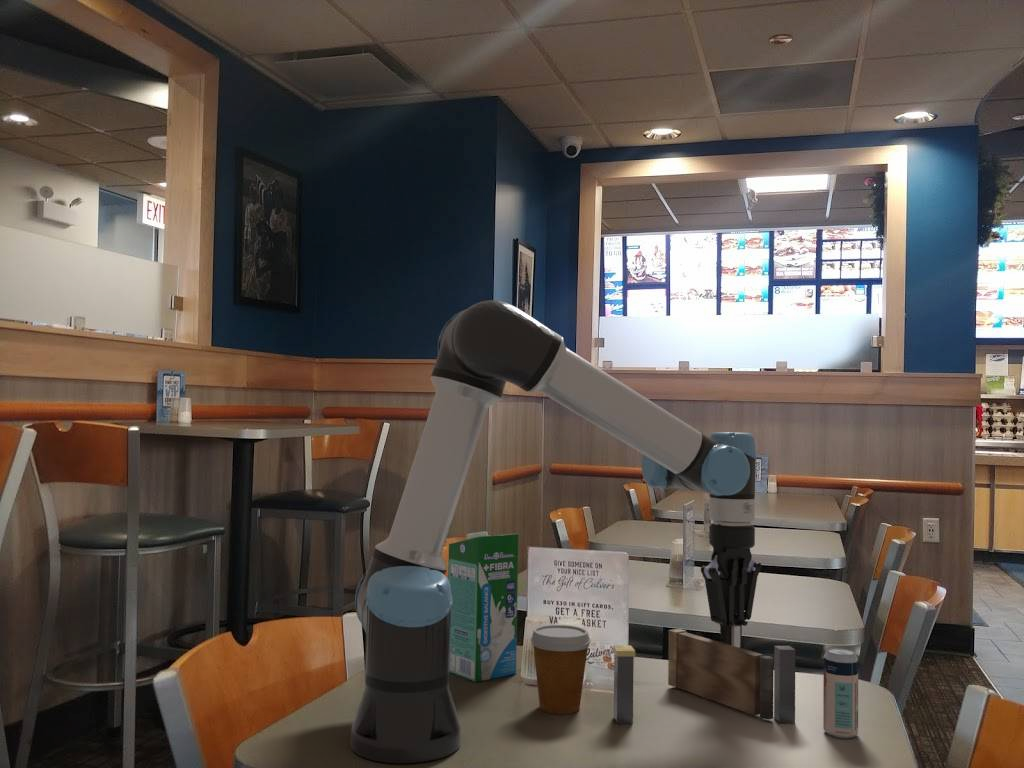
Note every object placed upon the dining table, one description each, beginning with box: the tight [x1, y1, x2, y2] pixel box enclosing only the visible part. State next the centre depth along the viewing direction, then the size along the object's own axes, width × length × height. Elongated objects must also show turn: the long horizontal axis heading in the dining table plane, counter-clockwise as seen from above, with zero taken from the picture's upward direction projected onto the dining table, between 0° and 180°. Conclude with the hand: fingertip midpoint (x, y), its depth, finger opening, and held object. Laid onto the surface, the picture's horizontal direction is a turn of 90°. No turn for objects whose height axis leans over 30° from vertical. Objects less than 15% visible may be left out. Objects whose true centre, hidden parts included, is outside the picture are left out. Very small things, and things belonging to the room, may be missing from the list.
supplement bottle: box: [822, 647, 859, 740], centre depth 132 cm, size 5×5×12 cm
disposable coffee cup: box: [530, 624, 592, 715], centre depth 142 cm, size 10×10×12 cm
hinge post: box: [773, 645, 796, 724], centre depth 138 cm, size 2×2×11 cm
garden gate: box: [667, 628, 774, 720], centre depth 146 cm, size 21×2×9 cm, turn 33°
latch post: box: [612, 644, 636, 725], centre depth 136 cm, size 3×3×11 cm
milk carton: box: [447, 531, 520, 683], centre depth 162 cm, size 9×9×25 cm
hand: (730, 663), depth 152 cm, fingers closed
